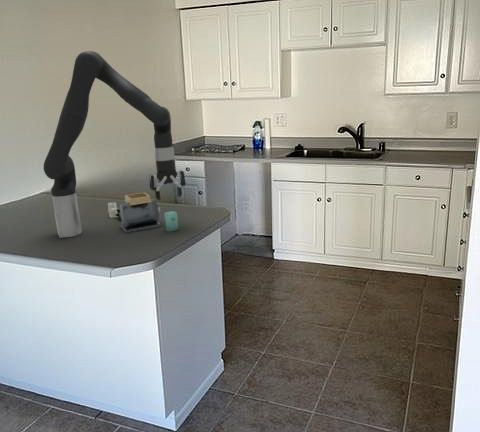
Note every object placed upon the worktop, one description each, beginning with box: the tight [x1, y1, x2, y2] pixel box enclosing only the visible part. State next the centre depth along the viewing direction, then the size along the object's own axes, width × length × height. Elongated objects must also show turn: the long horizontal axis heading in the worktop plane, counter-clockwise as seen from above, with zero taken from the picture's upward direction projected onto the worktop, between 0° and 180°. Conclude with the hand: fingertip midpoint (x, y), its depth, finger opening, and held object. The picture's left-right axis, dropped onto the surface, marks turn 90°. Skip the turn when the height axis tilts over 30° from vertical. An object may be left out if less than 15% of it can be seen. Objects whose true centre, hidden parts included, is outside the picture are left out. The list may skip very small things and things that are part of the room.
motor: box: [119, 191, 162, 233], centre depth 201 cm, size 16×10×14 cm, turn 116°
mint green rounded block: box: [163, 211, 179, 232], centre depth 194 cm, size 7×5×7 cm
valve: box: [107, 202, 122, 221], centre depth 216 cm, size 7×7×12 cm
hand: (169, 198), depth 192 cm, fingers open, 8 cm apart
